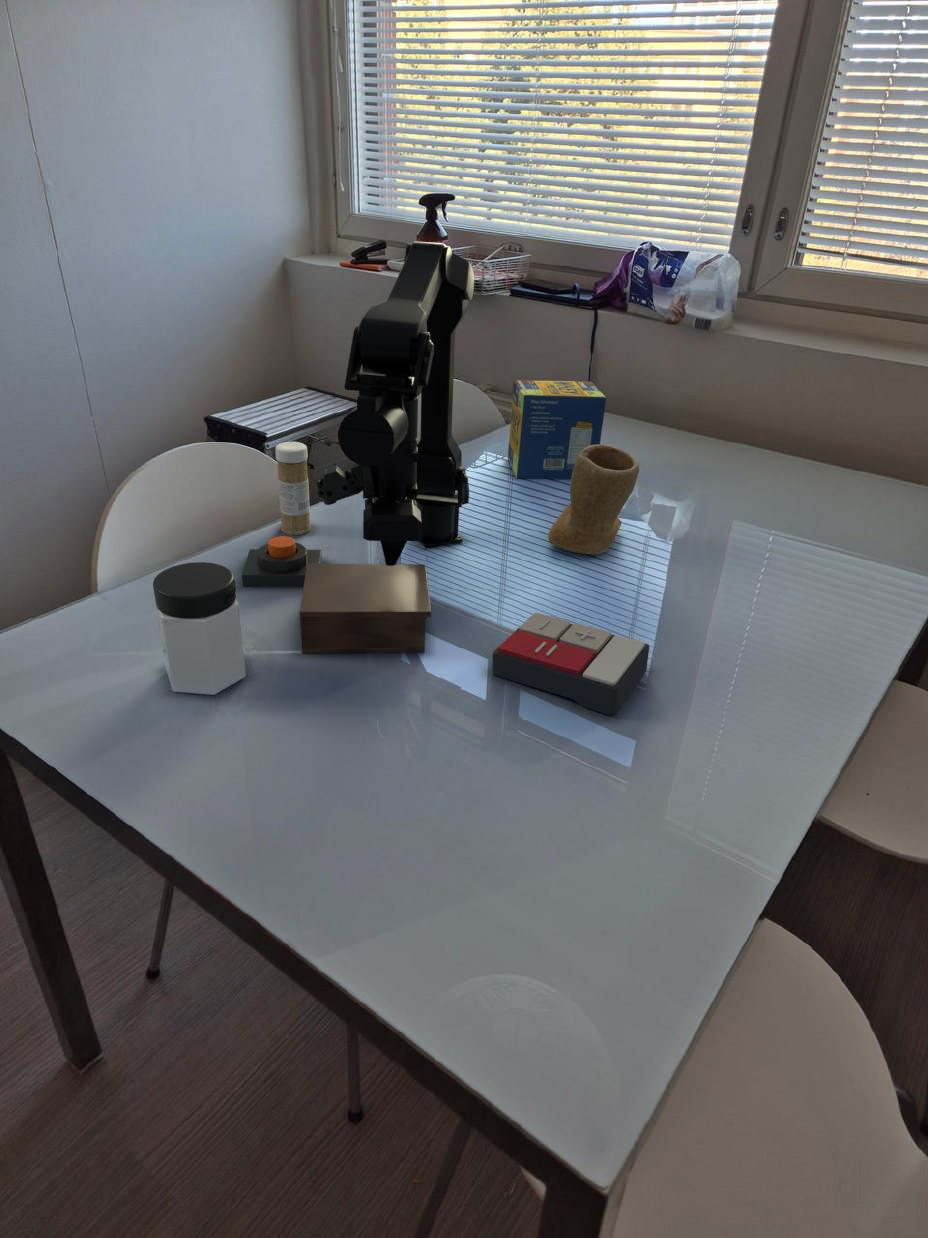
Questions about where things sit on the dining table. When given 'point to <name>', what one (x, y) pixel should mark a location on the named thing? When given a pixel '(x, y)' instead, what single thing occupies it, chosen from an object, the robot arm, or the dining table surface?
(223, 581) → the jar
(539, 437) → the protein box
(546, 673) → the calculator
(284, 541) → the button
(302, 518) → the sprinkles bottle
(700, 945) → the dining table surface
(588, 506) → the stone cup
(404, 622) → the wooden box
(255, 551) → the control block
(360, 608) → the lid
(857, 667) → the dining table surface
